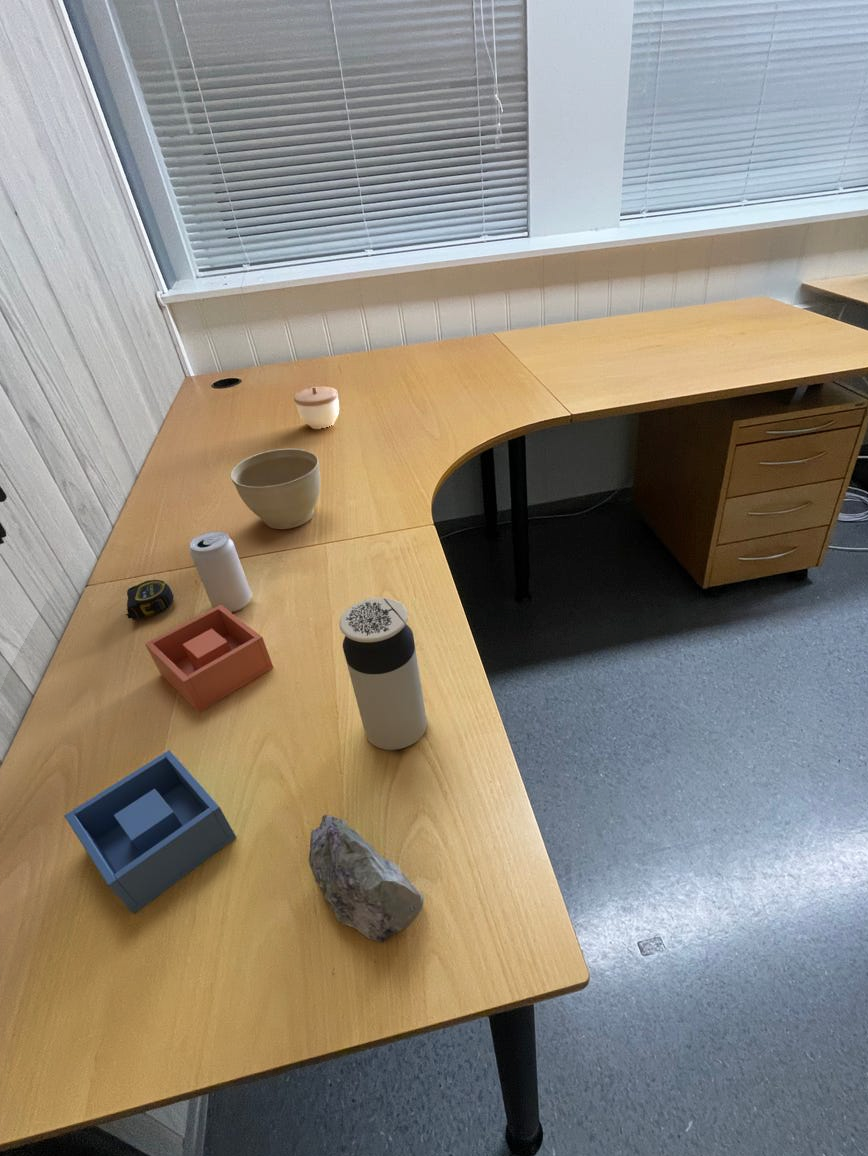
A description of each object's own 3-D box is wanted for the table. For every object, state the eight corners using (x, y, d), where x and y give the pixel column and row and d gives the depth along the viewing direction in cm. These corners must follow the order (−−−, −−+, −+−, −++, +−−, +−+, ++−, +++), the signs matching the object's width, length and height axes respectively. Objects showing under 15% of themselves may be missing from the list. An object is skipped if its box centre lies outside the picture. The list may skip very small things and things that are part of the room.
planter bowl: (292, 491, 131) (279, 442, 124) (347, 510, 124) (336, 459, 117) (230, 525, 122) (211, 473, 115) (285, 548, 114) (269, 494, 107)
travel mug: (375, 760, 76) (346, 649, 64) (358, 716, 81) (329, 607, 70) (436, 738, 78) (419, 627, 66) (415, 697, 83) (397, 588, 72)
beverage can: (205, 605, 102) (179, 542, 94) (240, 587, 105) (217, 525, 98) (225, 620, 98) (199, 556, 91) (260, 601, 102) (238, 538, 94)
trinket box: (350, 425, 158) (342, 387, 152) (310, 436, 154) (301, 398, 148) (332, 413, 165) (325, 377, 159) (294, 424, 161) (285, 386, 155)
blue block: (149, 863, 66) (131, 840, 63) (131, 838, 68) (113, 815, 65) (188, 835, 68) (173, 811, 65) (170, 812, 70) (154, 788, 68)
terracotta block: (208, 682, 87) (197, 658, 84) (193, 667, 89) (182, 644, 86) (237, 665, 89) (227, 641, 86) (221, 651, 91) (211, 628, 89)
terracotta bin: (199, 712, 83) (183, 681, 80) (160, 674, 90) (144, 643, 86) (273, 667, 89) (262, 636, 86) (232, 634, 96) (220, 604, 92)
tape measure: (133, 602, 104) (124, 584, 101) (176, 592, 105) (168, 573, 103) (132, 626, 99) (121, 607, 96) (177, 614, 100) (168, 596, 98)
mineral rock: (312, 842, 67) (288, 786, 61) (409, 819, 69) (397, 762, 63) (316, 963, 58) (290, 911, 51) (430, 932, 59) (418, 879, 53)
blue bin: (133, 914, 62) (107, 885, 59) (89, 845, 69) (63, 815, 65) (236, 837, 68) (219, 806, 65) (187, 780, 75) (169, 749, 71)
